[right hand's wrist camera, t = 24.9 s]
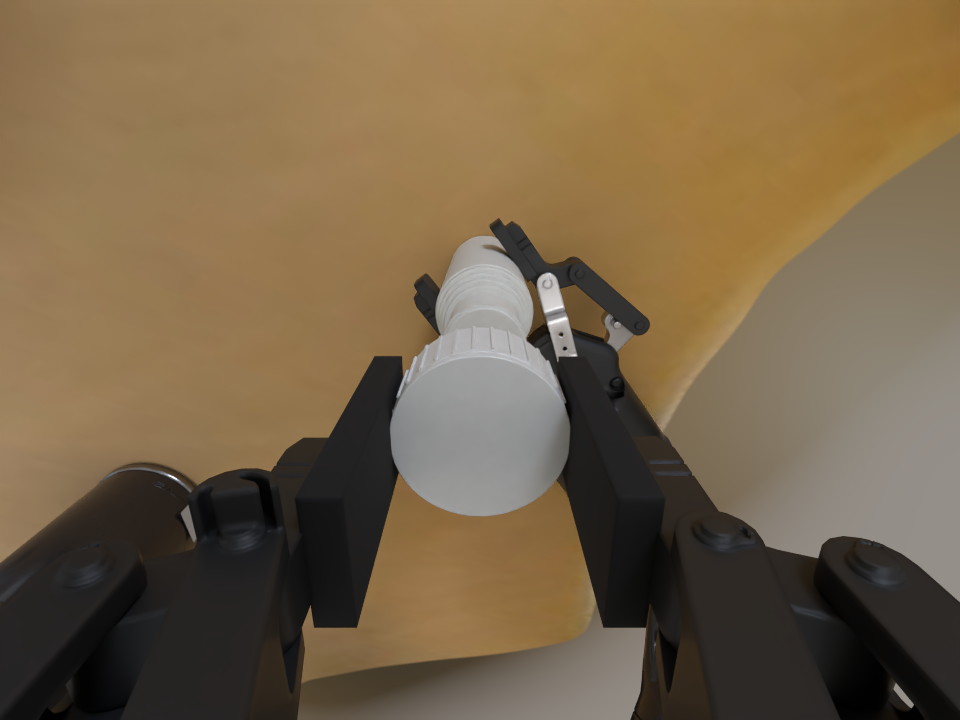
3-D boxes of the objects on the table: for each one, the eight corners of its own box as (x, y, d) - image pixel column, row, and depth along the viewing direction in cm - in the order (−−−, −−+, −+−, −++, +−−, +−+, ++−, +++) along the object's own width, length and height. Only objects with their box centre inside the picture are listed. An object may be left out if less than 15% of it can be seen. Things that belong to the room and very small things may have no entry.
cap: (367, 402, 15) (348, 443, 12) (478, 290, 13) (477, 313, 11) (481, 495, 16) (482, 548, 13) (592, 398, 15) (612, 438, 12)
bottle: (468, 223, 35) (455, 265, 19) (529, 254, 36) (568, 320, 19) (439, 285, 37) (404, 373, 20) (499, 313, 37) (511, 421, 21)
